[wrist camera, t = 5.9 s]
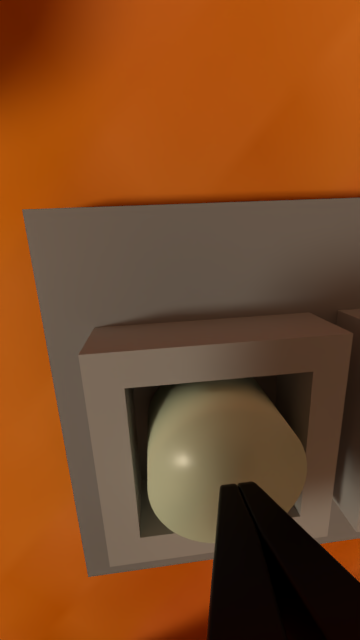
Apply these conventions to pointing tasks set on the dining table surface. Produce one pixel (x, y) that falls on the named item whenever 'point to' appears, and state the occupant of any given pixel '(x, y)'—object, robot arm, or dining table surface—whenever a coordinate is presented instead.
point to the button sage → (217, 451)
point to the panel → (199, 348)
